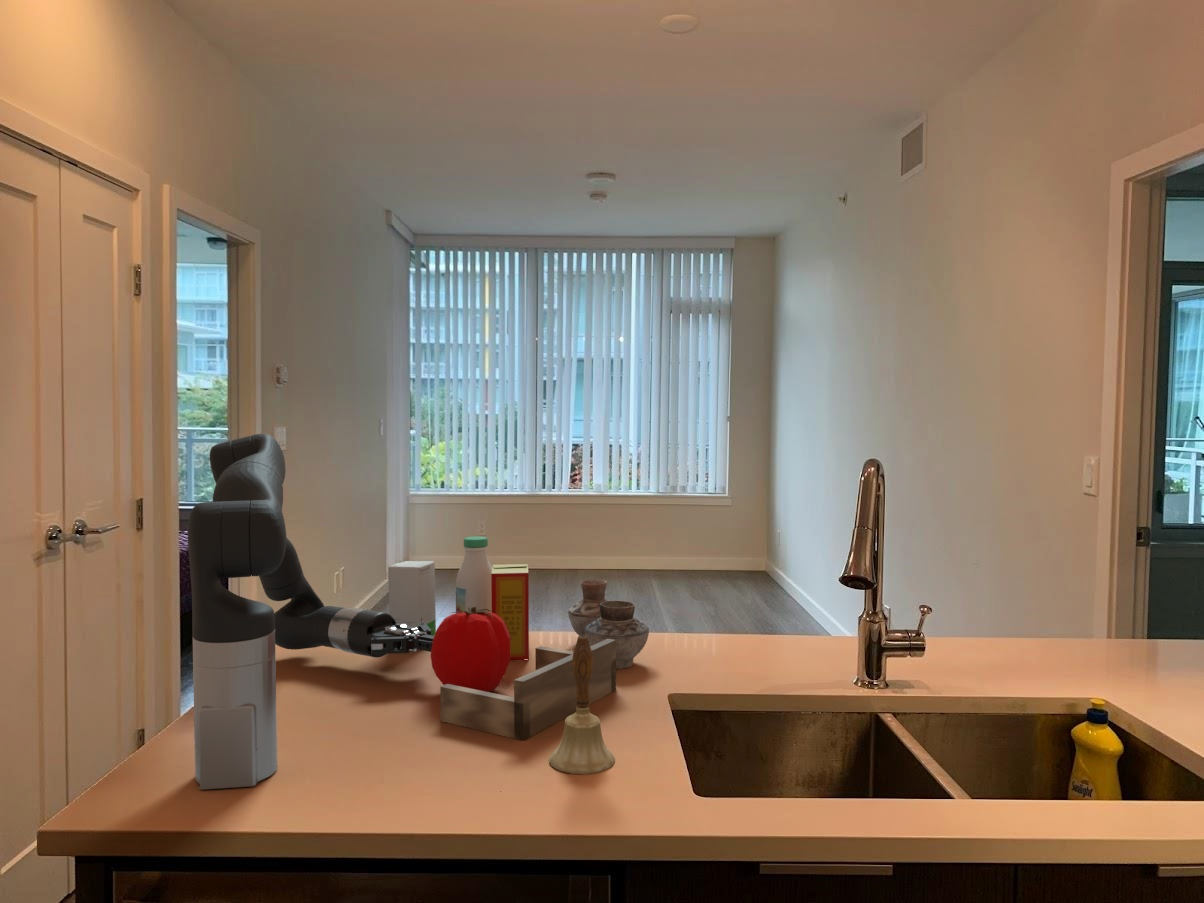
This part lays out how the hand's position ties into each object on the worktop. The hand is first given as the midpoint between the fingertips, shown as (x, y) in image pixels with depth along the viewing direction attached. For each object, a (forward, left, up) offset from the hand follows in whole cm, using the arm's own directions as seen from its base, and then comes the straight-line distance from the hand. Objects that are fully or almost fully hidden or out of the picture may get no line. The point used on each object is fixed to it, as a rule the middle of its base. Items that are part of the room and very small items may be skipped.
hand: (440, 645), depth 140 cm
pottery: (+14, -29, -7) cm, 33 cm away
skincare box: (+26, +6, -7) cm, 28 cm away
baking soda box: (+17, -12, -7) cm, 22 cm away
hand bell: (-34, -18, -7) cm, 39 cm away
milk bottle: (+27, -6, -7) cm, 29 cm away
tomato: (-4, -5, -7) cm, 9 cm away
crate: (-11, -13, -7) cm, 19 cm away
